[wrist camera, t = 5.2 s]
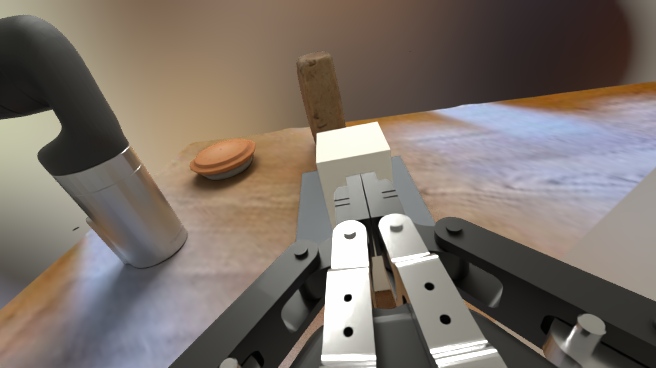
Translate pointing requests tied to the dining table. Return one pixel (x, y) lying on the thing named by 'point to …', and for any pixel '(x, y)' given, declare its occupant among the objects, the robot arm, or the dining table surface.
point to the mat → (315, 211)
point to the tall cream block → (353, 169)
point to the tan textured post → (320, 92)
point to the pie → (224, 159)
